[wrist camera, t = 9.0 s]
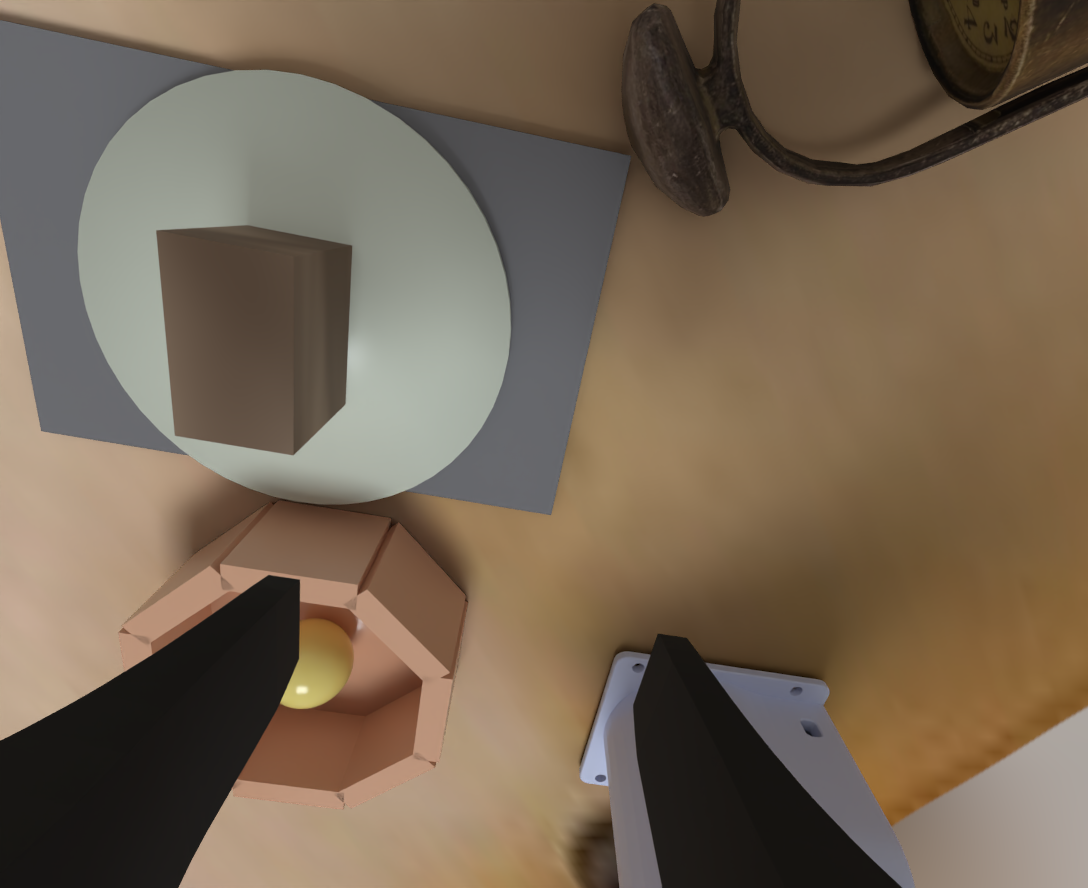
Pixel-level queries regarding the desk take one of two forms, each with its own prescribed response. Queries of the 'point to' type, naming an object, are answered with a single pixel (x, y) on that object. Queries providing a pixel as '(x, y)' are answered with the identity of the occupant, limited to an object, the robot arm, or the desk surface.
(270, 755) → the bowl
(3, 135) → the mat
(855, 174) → the dark brown handled piece
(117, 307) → the lid
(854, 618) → the desk surface
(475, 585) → the desk surface
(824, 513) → the desk surface
